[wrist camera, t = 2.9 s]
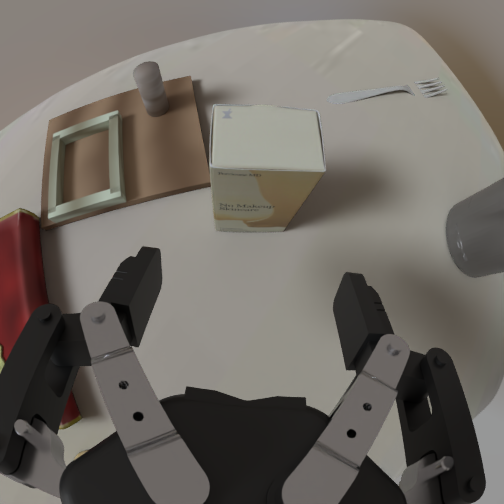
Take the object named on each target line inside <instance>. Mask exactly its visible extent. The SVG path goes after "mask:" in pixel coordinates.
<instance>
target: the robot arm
mask: <svg viewBox="0 0 504 504" xmlns="http://www.w3.org/2000/svg"><path fill="white" fill-rule="evenodd" d="M446 235H447V242H448V247H449V250H450V253H451V255H452V257H453V259H454V261H455V263H456V265H457V266H458V267H459V269H460V270H461V271H462V272H463V273H464V274H466V275H468V276H470V277H474V278H475V277H481V276H486V275H491V274H496V273H501V272H504V178H502V179H501V180H499V181H497V182H495V183H494V184H492V185H490V186H488V187H487V188H485V189H483V190H481V191H479V192H477V193H476V194H474V195H472V196H470V197H468V198H467V199H465V200H463V201H461V202H459V203H458V204H456V205H454V206H453V208H452V209H451V210H450V212H449V214H448V218H447V223H446ZM161 285H162V268H161V252H160V249H159V248H152V247H144V246H143V247H142V248H141V249H140V251H139V252H138V254H137V256H136V257H132V256H130V257H128V258H127V259H126V260H124V261H123V262H122V263H121V264H120V266H119V267H118V269H117V270H116V272H115V274H114V275H113V278H112V279H111V280H110V282H109V284H108V285H107V287H106V289H105V291H104V292H103V294H102V296H101V297H100V299H99V301H98V302H93V303H91V304H89V305H87V306H86V307H85V308H84V309H83V310H82V312H81V313H76V314H62V313H61V311H60V309H59V307H58V306H56V305H54V304H44V305H41V306H39V307H38V308H36V309H35V310H34V311H33V313H32V314H31V316H30V318H29V319H28V321H27V323H26V325H25V326H24V328H23V330H22V332H21V333H20V335H19V337H18V339H17V341H16V343H15V344H14V346H13V348H12V350H11V352H10V354H9V356H8V358H7V360H6V362H5V364H4V366H3V368H2V370H1V373H0V473H1V474H2V475H4V476H6V477H8V478H10V479H12V480H14V481H16V482H18V483H22V484H24V485H26V486H28V487H31V488H38V489H40V490H42V491H44V492H47V493H49V494H51V495H53V496H56V497H58V498H61V502H62V504H471V503H473V502H476V501H477V500H478V499H480V497H481V496H482V495H483V493H484V490H485V486H486V480H485V474H484V469H483V463H482V458H481V454H480V450H479V445H478V441H477V437H476V433H475V429H474V425H473V422H472V418H471V415H470V411H469V408H468V405H467V401H466V398H465V395H464V392H463V389H462V386H461V383H460V380H459V377H458V375H457V372H456V369H455V366H454V364H453V361H452V359H451V357H450V356H449V354H448V353H447V352H445V351H444V350H442V349H440V348H431V349H430V350H429V351H428V352H427V353H426V355H424V354H420V353H417V352H413V351H410V349H409V346H408V344H407V343H406V342H405V341H404V340H403V339H402V338H401V337H399V336H397V335H394V332H393V329H392V327H391V324H390V322H389V319H388V316H387V314H386V312H385V309H384V306H383V305H382V301H381V299H380V297H379V294H378V293H377V292H376V291H375V290H374V289H373V288H372V286H367V283H366V281H365V278H364V276H363V274H358V273H349V272H346V273H345V274H344V276H343V278H342V281H341V283H340V286H339V288H338V291H337V293H336V296H335V299H334V303H333V312H334V316H335V320H336V325H337V329H338V334H339V338H340V343H341V348H342V352H343V357H344V362H345V367H346V370H356V376H355V377H354V379H353V380H352V382H351V384H350V385H349V387H348V388H347V390H346V391H345V393H344V394H343V396H342V397H341V399H340V400H339V402H338V403H337V405H336V406H335V408H334V409H333V411H332V412H331V413H330V415H329V416H328V415H326V414H325V413H323V412H321V411H319V410H317V409H315V408H312V407H310V406H306V397H281V396H276V397H270V398H264V399H257V400H250V401H246V400H242V399H239V398H236V397H233V396H230V395H227V394H224V393H221V392H218V391H215V390H207V389H200V388H194V387H187V386H186V391H185V394H180V395H174V396H170V397H167V398H164V399H162V400H158V398H157V397H156V395H155V393H154V391H153V389H152V387H151V385H150V383H149V381H148V379H147V377H146V375H145V373H144V371H143V369H142V367H141V365H140V363H139V361H138V359H137V357H136V354H135V352H134V350H133V348H132V347H130V346H134V347H139V345H140V342H141V339H142V337H143V334H144V331H145V328H146V326H147V323H148V321H149V318H150V315H151V313H152V310H153V308H154V305H155V302H156V300H157V297H158V295H159V292H160V290H161ZM80 366H92V368H93V371H94V374H95V377H96V380H97V383H98V385H99V388H100V391H101V394H102V396H103V399H104V401H105V404H106V407H107V409H108V411H109V414H110V416H111V419H112V421H113V423H114V426H115V428H116V430H117V431H116V432H114V433H113V434H112V435H110V436H109V437H107V438H106V439H104V440H103V441H102V442H100V443H99V444H97V445H96V446H94V447H93V448H91V449H90V450H89V451H87V452H86V453H84V454H83V455H81V456H80V457H78V458H77V459H75V460H74V461H72V462H71V463H70V464H69V465H68V466H67V467H66V465H65V462H64V446H63V443H62V441H61V439H60V438H59V436H57V433H58V430H59V426H60V423H61V420H62V416H63V413H64V410H65V407H66V404H67V401H68V398H69V395H70V392H71V389H72V386H73V383H74V380H75V377H76V375H77V372H78V369H79V367H80ZM428 395H429V398H430V402H431V406H432V415H431V412H430V408H429V404H428V400H427V396H428ZM395 399H396V403H397V408H398V413H399V419H400V424H401V430H402V436H403V442H404V449H405V456H406V464H407V468H406V469H405V470H404V472H403V474H402V477H401V481H400V482H399V486H398V485H397V484H396V483H395V482H394V481H393V480H392V479H391V478H390V477H389V476H388V475H387V474H386V473H385V472H384V471H383V470H382V469H381V468H380V467H378V466H377V465H376V464H375V463H374V462H373V461H372V460H371V459H370V458H369V457H368V456H367V453H368V451H369V449H370V448H371V446H372V444H373V442H374V440H375V439H376V437H377V435H378V433H379V431H380V429H381V427H382V425H383V423H384V421H385V419H386V417H387V415H388V413H389V411H390V409H391V407H392V405H393V403H394V400H395Z"/></svg>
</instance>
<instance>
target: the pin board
mask: <svg viewBox="0 0 504 504" xmlns="http://www.w3.org/2000/svg"><path fill="white" fill-rule="evenodd" d="M133 76H134V79H135V81H136V84H137V87H138V88H137V89H134V90H130V91H127V92H124V93H120V94H117V95H114V96H111V97H108V98H105V99H102V100H99V101H96V102H93V103H91V104H88V105H85V106H83V107H80V108H77V109H75V110H72V111H70V112H67V113H65V114H63V115H60V116H58V117H56V118H53V119H51V120H49V125H48V132H47V139H46V147H45V155H44V165H43V178H42V197H41V228H42V229H44V230H46V231H47V230H50V229H53V228H56V227H59V226H62V225H65V224H68V223H71V222H75V221H78V220H81V219H84V218H88V217H91V216H95V215H98V214H101V213H105V212H109V211H112V210H116V209H119V208H123V207H127V206H130V205H134V204H138V203H142V202H146V201H150V200H154V199H158V198H162V197H166V196H170V195H174V194H179V193H183V192H187V191H192V190H196V189H201V188H206V187H210V186H211V181H210V173H209V168H208V163H207V158H206V153H205V148H204V143H203V138H202V133H201V128H200V123H199V118H198V112H197V107H196V102H195V96H194V91H193V86H192V80H191V76H187V77H182V78H178V79H173V80H169V81H164V82H163V81H162V77H161V74H160V70H159V66H158V64H157V63H156V62H144V63H142V64H140V65H138V66H137V67H136V68H135V69H134V71H133Z"/></svg>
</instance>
